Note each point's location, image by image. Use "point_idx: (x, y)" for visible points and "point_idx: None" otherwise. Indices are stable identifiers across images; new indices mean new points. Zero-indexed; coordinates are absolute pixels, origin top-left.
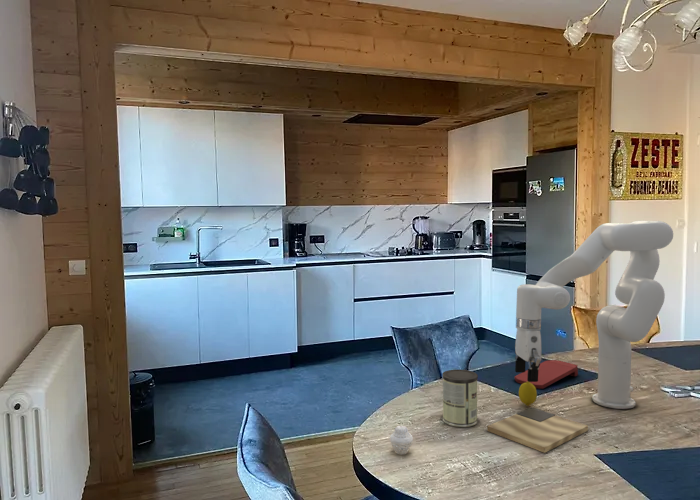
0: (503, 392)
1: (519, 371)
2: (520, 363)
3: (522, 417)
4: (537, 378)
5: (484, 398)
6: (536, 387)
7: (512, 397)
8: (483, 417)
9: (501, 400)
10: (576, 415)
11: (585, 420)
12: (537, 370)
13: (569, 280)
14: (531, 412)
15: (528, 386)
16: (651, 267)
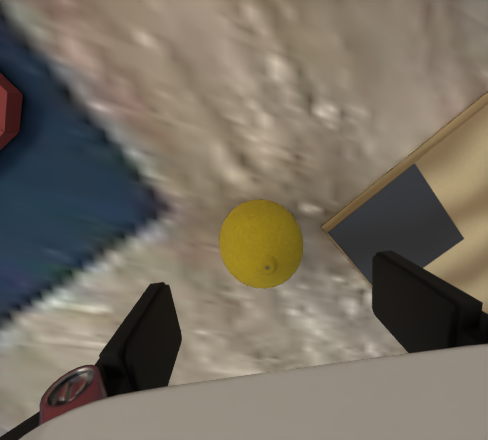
0: (110, 275)
1: (176, 322)
2: (154, 372)
3: None
4: (402, 261)
5: (186, 343)
6: (17, 124)
7: (164, 255)
8: None
9: (201, 297)
10: (361, 52)
11: (418, 32)
12: (464, 302)
13: None
14: (380, 246)
15: (294, 262)
16: None
